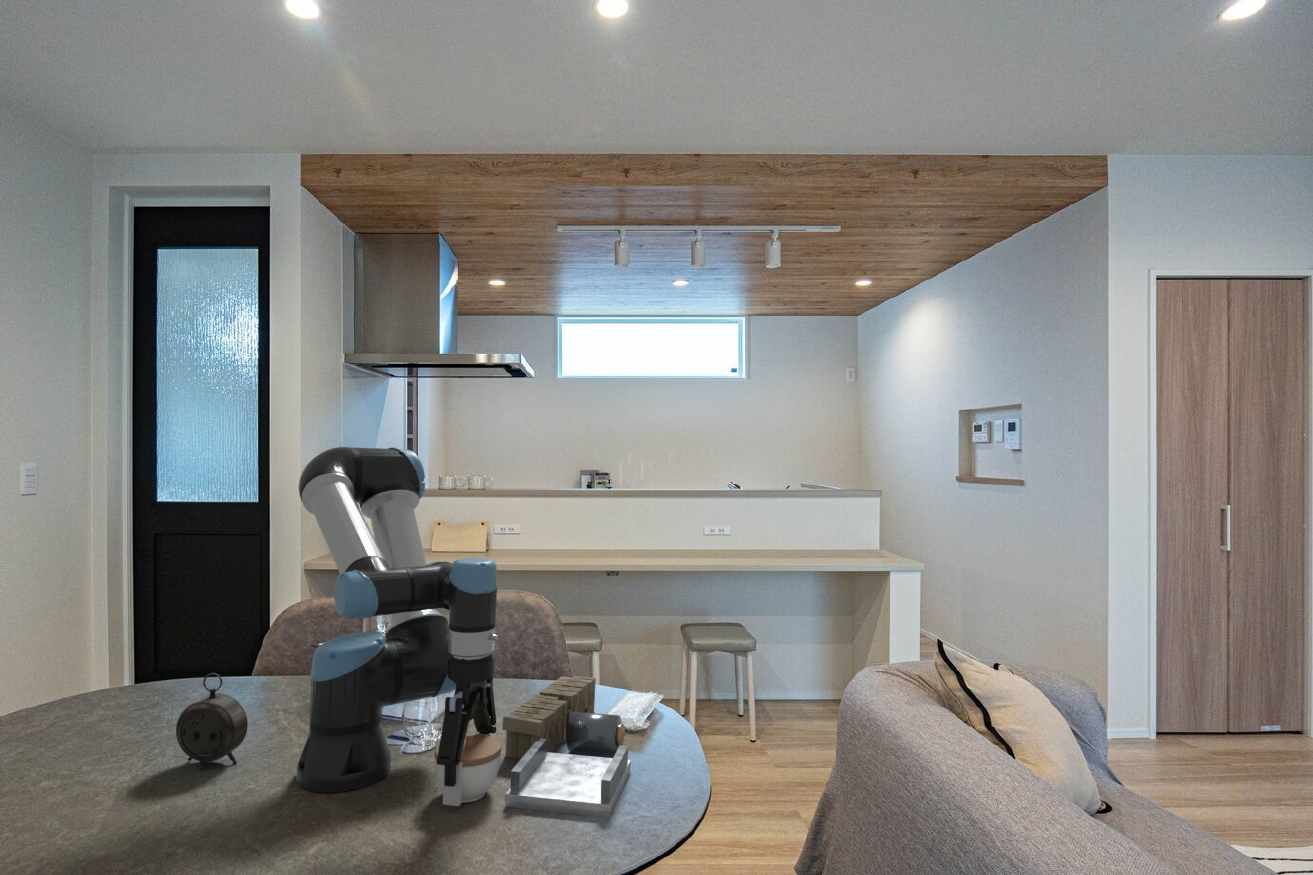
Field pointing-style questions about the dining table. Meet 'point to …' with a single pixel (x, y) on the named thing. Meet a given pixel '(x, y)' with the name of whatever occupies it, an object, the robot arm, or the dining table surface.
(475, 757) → the lidded jar
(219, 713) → the alarm clock
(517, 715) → the block tower
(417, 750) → the dining table surface
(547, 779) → the motor cradle
